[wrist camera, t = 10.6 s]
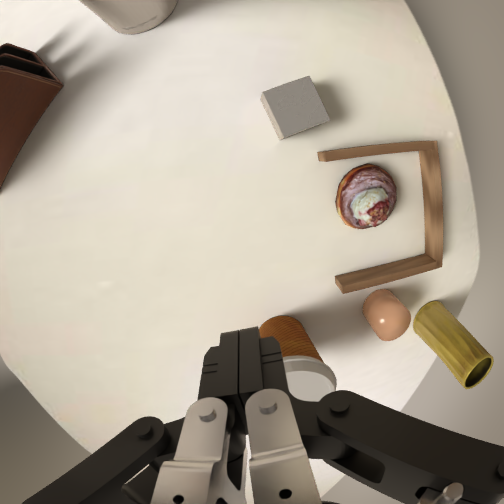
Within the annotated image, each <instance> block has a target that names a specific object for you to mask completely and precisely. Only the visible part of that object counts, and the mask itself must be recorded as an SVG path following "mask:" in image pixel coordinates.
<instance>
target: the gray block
mask: <svg viewBox="0 0 504 504" xmlns="http://www.w3.org/2000/svg"><path fill="white" fill-rule="evenodd" d="M260 100H261V102H262V104H263V106H264V108H265V110H266V112H267V115H268V117H269V119H270V121H271V123H272V125H273V127H274V129H275V132H276V134H277V136H278V138H279V140H281V139H283V138H286V137H288V136H291V135H293V134H296V133H298V132H301V131H304V130H306V129H309V128H312V127H314V126H317V125H320V124H322V123H325V122H327V121H330V119H329V116H328V114H327V112H326V110H325V107H324V105H323V103H322V101H321V99H320V97H319V95H318V93H317V90H316V88H315V86H314V84H313V82H312V80H311V78H310V76H307V77H304V78H301V79H298V80H295V81H292V82H289V83H286V84H283V85H280V86H278V87H275V88H272V89H270V90H267V91H264V92H262V96H261V99H260Z"/></svg>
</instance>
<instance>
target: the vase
mask: <svg viewBox="0 0 504 504" xmlns="http://www.w3.org/2000/svg"><path fill="white" fill-rule="evenodd" d="M413 328H414V331H415V333H416V334H418V335H419V336H420V337H421V338H422V340H423V341H424V342H425V343H426V344H427V345H428V346H429V347H430V348H431V349H432V350H433V351H434V352H435V353H436V354H437V355H438V356H439V357H440V359H441V360H442V361H443V362H444V363H445V364H446V366H447V367H448V368H449V370H450V371H451V372H452V373H453V375H454V376H455V377H456V379H457V380H458V381H459V383H460V384H461V385H462V386H463V387H464V388H465V389H470V388H473V387H475V386H476V385H477V384H479V383H480V382H481V381H482V380H483V379H484V378H485V377H486V376H487V374H488V373H489V372H490V370H491V368H492V366H493V362H494V361H493V357H492V356H491V355H490V354H489V353H488V352H487V351H486V350H485V349H484V348H483V347H482V346H481V345H480V343H479V342H478V341H477V340H476V339H475V338H474V337H473V336H472V335H471V334H470V333H469V332H468V331H467V330H466V328H465V327H464V326H463V325H462V324H461V323H460V322H459V321H458V320H457V319H456V318H455V317H454V316H453V315H452V314H451V313H450V312H449V311H448V310H446V308H445V307H444V306H443V304H442V303H440V302H438V301H433V302H429V303H427V304H426V305H424V306H423V307H422V308H421V309H420V310H419V312H418V313H417V315H416V317H415V319H414V323H413Z"/></svg>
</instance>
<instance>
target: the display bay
mask: <svg viewBox="0 0 504 504" xmlns="http://www.w3.org/2000/svg"><path fill="white" fill-rule="evenodd" d="M409 151H419V157H420V165H421V174H422V185H423V198H424V217H425V254H423V255H419V256H415V257H411V258H407V259H403V260H400V261H396V262H392V263H388V264H384V265H380V266H376V267H371V268H367V269H363V270H359V271H355V272H351V273H346V274H342V275H338V276H335V281H336V284H337V286H338V287H339V289H340V290H341V292H342V293H343V294H345V293H349V292H353V291H357V290H361V289H365V288H369V287H373V286H376V285H380V284H384V283H388V282H391V281H395V280H399V279H402V278H406V277H409V276H413V275H416V274H420V273H423V272H427V271H430V270H433V269H437V268H440V267H442V259H443V202H442V185H441V173H440V163H439V154H438V146H437V141H414V142H401V143H389V144H379V145H369V146H361V147H352V148H344V149H337V150H330V151H323V152H317V153H318V158H319V161H324V162H328V161H334V160H341V159H348V158H356V157H363V156H371V155H380V154H389V153H399V152H409Z"/></svg>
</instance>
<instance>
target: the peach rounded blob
mask: <svg viewBox="0 0 504 504" xmlns="http://www.w3.org/2000/svg"><path fill="white" fill-rule="evenodd" d="M363 315H364V316H365V318H366V319H367V321H368V322H369V324H370V325H371V327H372V328H373V330H374V331H375V333H376V334H377V336H378V337H379V338H380V339H381V340H384V341H391V340H394V339H397V338H398V337H400V336H401V335H402V334H403V333H404V332H405V331H406V330H407V328H408V327H409V324H410V321H411V314H410V312H409V310H408V309H407V308H406V307H405V306H404V305H403V304H402V303H401V302H400V301H399V300H398V299H397V298H396V297H395V296H394V294H393V293H392V292H390V291H389V290H386V289H380V290H376V291H374V292H373V293H371V294H370V295H369V296H368V297H367V299H366V300H365V302H364V304H363Z"/></svg>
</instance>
